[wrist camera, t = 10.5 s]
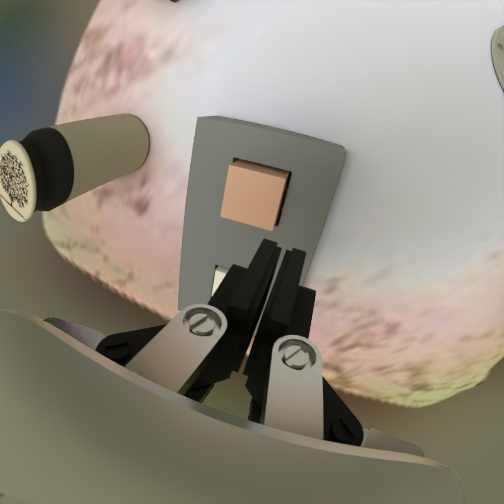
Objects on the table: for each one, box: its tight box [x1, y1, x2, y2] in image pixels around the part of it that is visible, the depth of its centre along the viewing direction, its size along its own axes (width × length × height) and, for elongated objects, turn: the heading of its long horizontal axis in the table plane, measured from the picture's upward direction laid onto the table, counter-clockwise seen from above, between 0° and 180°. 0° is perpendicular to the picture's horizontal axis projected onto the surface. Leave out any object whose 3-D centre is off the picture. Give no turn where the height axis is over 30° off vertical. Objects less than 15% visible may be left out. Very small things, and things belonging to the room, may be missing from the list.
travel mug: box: [0, 114, 149, 222], centre depth 25 cm, size 8×8×18 cm
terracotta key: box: [220, 159, 291, 231], centre depth 27 cm, size 5×5×5 cm
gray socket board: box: [178, 116, 346, 336], centre depth 32 cm, size 14×24×5 cm, turn 169°
